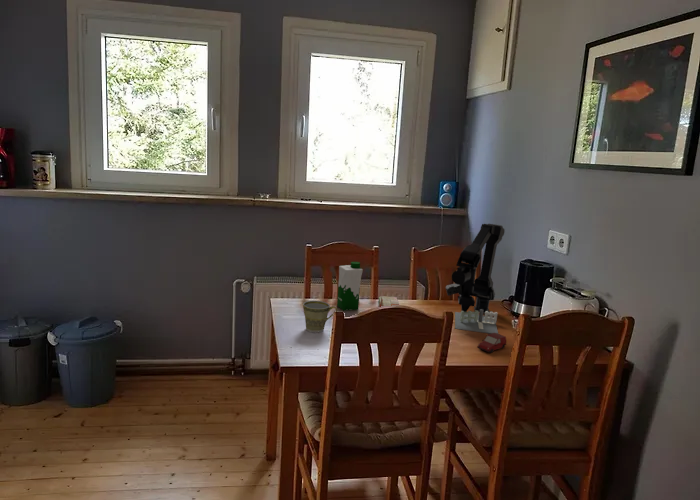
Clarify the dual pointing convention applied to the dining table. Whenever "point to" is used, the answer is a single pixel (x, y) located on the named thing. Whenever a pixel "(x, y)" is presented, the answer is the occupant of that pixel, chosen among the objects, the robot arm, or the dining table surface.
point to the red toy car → (492, 342)
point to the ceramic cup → (316, 315)
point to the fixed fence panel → (487, 316)
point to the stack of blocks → (387, 301)
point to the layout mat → (475, 324)
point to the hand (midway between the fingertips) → (463, 314)
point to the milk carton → (349, 286)
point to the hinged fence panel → (469, 315)
